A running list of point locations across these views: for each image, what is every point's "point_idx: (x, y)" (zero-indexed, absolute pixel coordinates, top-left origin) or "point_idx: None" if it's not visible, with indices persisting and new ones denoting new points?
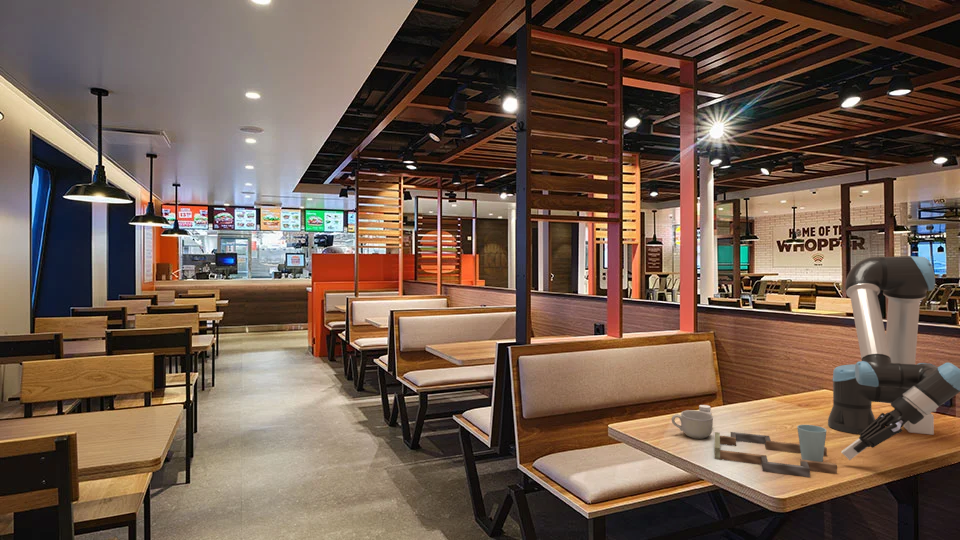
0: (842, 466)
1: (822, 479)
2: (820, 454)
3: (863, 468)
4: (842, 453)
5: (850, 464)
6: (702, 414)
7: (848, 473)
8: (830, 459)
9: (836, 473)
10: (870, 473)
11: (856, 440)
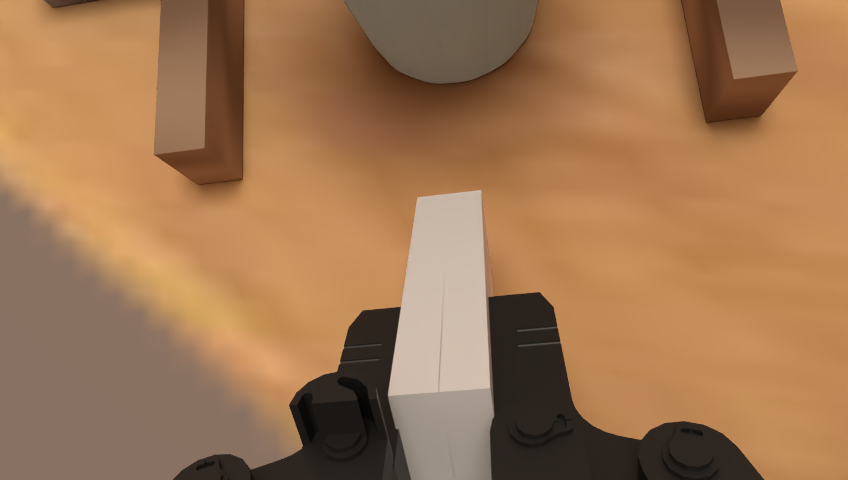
0: None
1: (36, 83)
2: (352, 9)
3: None
4: (420, 203)
5: None
6: None
7: (250, 276)
8: (613, 151)
9: (197, 180)
10: None
11: (471, 347)
